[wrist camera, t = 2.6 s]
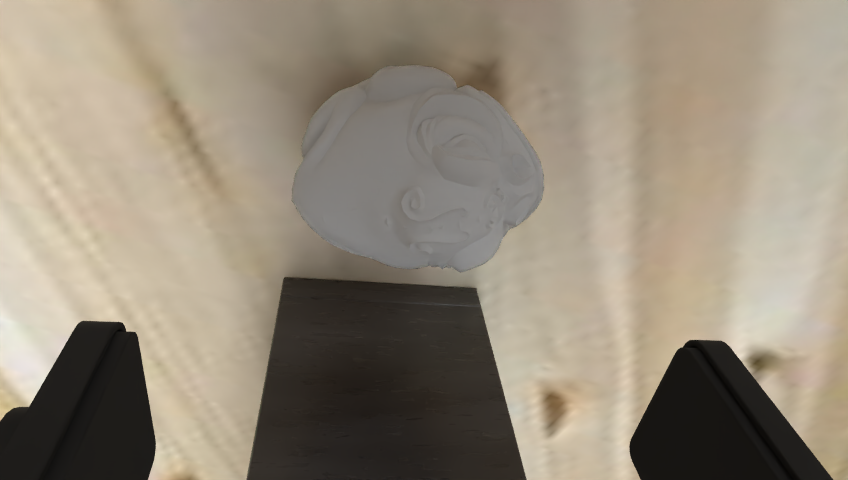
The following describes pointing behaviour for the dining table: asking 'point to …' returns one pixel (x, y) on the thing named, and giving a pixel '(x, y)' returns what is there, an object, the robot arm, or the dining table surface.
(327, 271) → the dining table surface
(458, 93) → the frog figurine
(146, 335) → the dining table surface
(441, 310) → the book rack
